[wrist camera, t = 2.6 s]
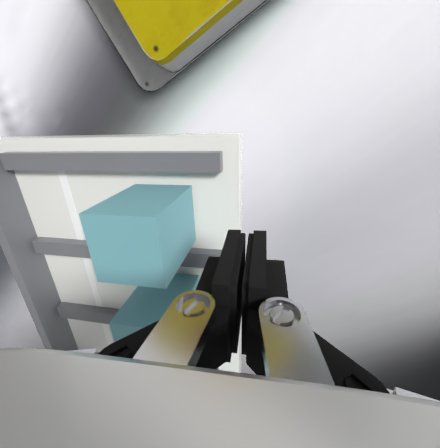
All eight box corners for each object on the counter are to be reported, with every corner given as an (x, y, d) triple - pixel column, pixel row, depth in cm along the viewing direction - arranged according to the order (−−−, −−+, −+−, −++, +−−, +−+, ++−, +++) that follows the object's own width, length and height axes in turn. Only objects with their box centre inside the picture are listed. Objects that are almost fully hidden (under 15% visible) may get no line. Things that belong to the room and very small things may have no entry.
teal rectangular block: (191, 185, 16) (155, 217, 11) (195, 240, 18) (166, 289, 13) (135, 184, 17) (78, 213, 12) (144, 236, 19) (97, 281, 14)
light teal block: (198, 275, 19) (172, 332, 14) (201, 315, 21) (179, 379, 16) (149, 270, 20) (109, 323, 15) (156, 309, 22) (121, 368, 17)
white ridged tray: (242, 132, 17) (232, 139, 13) (241, 375, 26) (235, 421, 22) (-3, 136, 21) (-68, 143, 17) (75, 347, 30) (45, 382, 26)
